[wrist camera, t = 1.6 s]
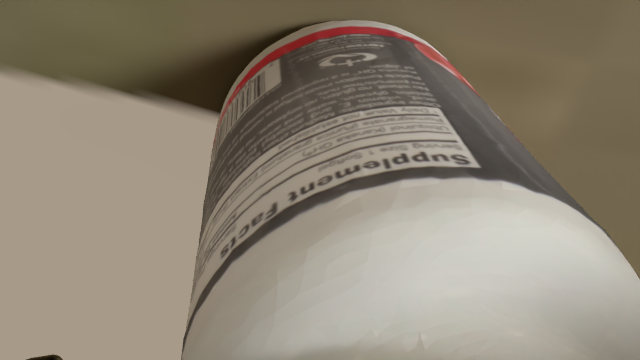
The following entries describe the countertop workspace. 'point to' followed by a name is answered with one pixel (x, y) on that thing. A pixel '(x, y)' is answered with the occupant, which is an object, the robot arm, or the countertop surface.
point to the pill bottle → (391, 219)
